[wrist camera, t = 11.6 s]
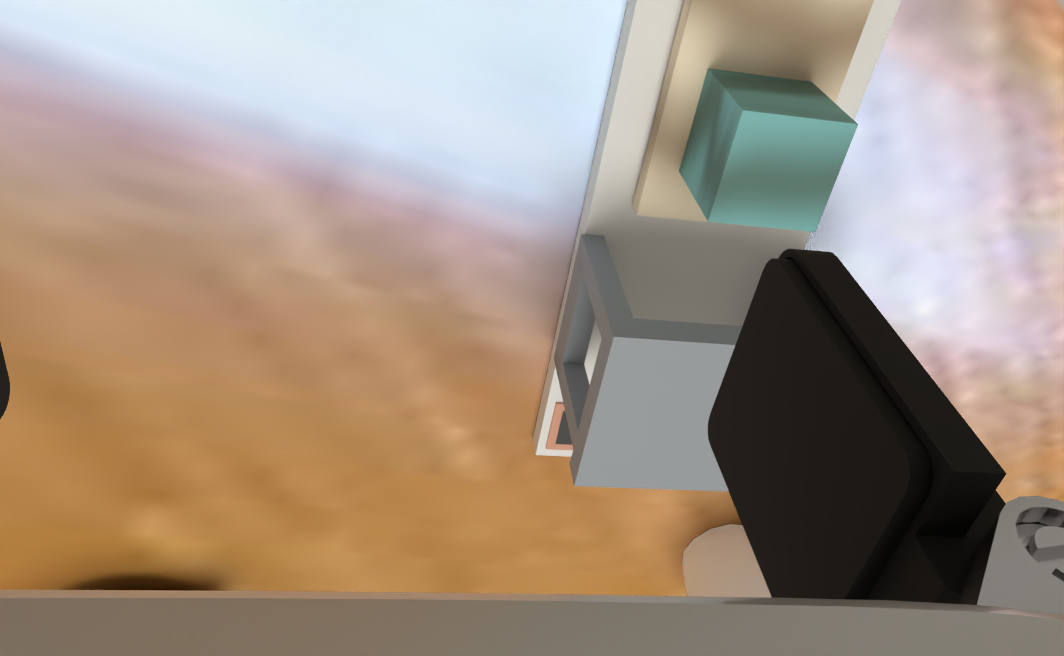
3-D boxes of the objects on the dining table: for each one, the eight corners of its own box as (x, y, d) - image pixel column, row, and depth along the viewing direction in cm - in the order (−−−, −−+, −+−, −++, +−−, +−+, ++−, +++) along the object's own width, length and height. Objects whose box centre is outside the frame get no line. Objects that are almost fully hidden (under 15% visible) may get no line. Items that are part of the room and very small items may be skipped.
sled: (764, -316, 30) (858, -325, 24) (962, -272, 32) (1099, -270, 26) (632, 205, 42) (671, 293, 36) (781, 220, 44) (844, 306, 37)
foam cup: (635, 567, 62) (679, 741, 51) (724, 491, 58) (792, 661, 48) (724, 607, 66) (782, 776, 55) (813, 539, 62) (893, 705, 52)
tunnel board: (688, -328, 32) (794, -346, 23) (991, -261, 34) (1196, -253, 25) (526, 438, 53) (548, 582, 44) (718, 446, 55) (776, 585, 47)
